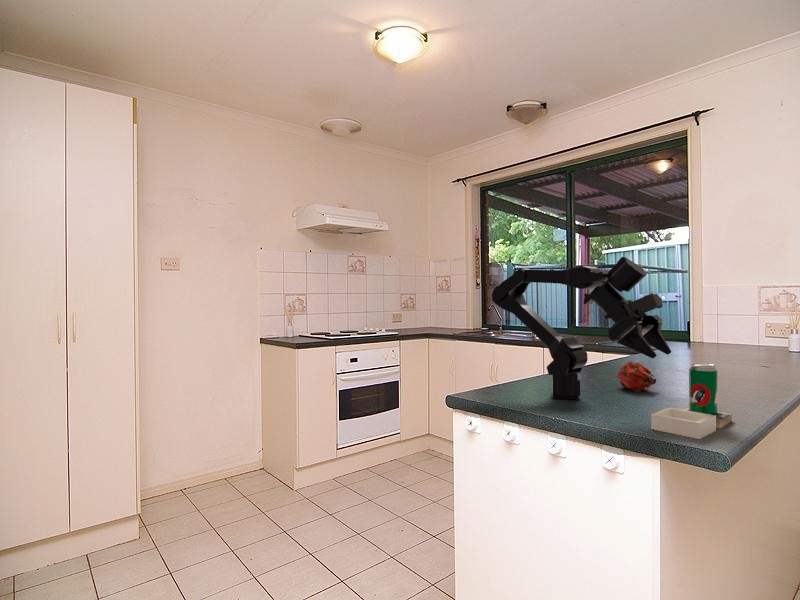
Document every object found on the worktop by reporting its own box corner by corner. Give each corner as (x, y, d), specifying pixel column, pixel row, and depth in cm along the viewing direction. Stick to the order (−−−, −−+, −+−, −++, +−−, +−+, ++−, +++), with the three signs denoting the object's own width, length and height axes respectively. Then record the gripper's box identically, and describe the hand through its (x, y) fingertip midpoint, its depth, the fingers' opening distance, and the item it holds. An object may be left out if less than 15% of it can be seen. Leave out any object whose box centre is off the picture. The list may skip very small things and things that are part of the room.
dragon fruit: (624, 390, 138) (650, 405, 127) (603, 374, 137) (628, 388, 125) (641, 367, 138) (669, 380, 126) (621, 351, 136) (647, 363, 124)
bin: (651, 429, 93) (651, 414, 93) (669, 421, 98) (669, 407, 98) (699, 439, 86) (699, 423, 86) (716, 430, 92) (716, 415, 92)
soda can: (722, 424, 96) (722, 366, 96) (695, 423, 97) (695, 366, 97) (710, 418, 101) (710, 363, 101) (685, 417, 102) (685, 362, 102)
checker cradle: (675, 420, 99) (675, 412, 99) (688, 413, 104) (688, 405, 104) (720, 428, 93) (720, 419, 93) (731, 421, 98) (731, 412, 98)
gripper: (622, 281, 102) (676, 334, 94) (653, 282, 115) (704, 329, 107) (587, 315, 108) (635, 368, 100) (620, 312, 121) (666, 359, 113)
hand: (662, 355), depth 105 cm, fingers open, 9 cm apart
